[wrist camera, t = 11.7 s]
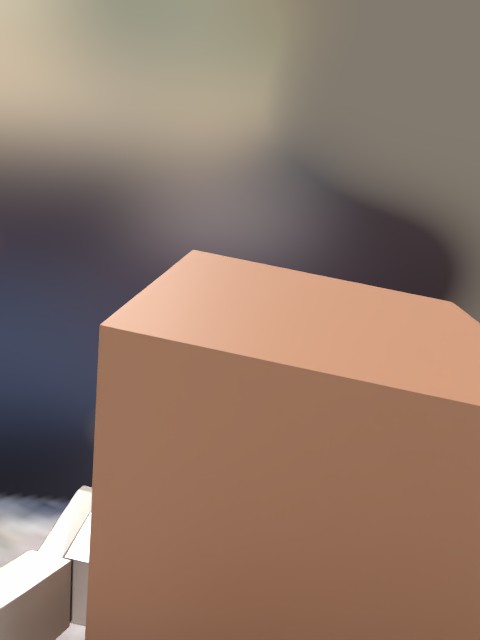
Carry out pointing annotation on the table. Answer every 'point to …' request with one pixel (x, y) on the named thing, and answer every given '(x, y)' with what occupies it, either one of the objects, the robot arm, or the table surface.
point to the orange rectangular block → (284, 461)
